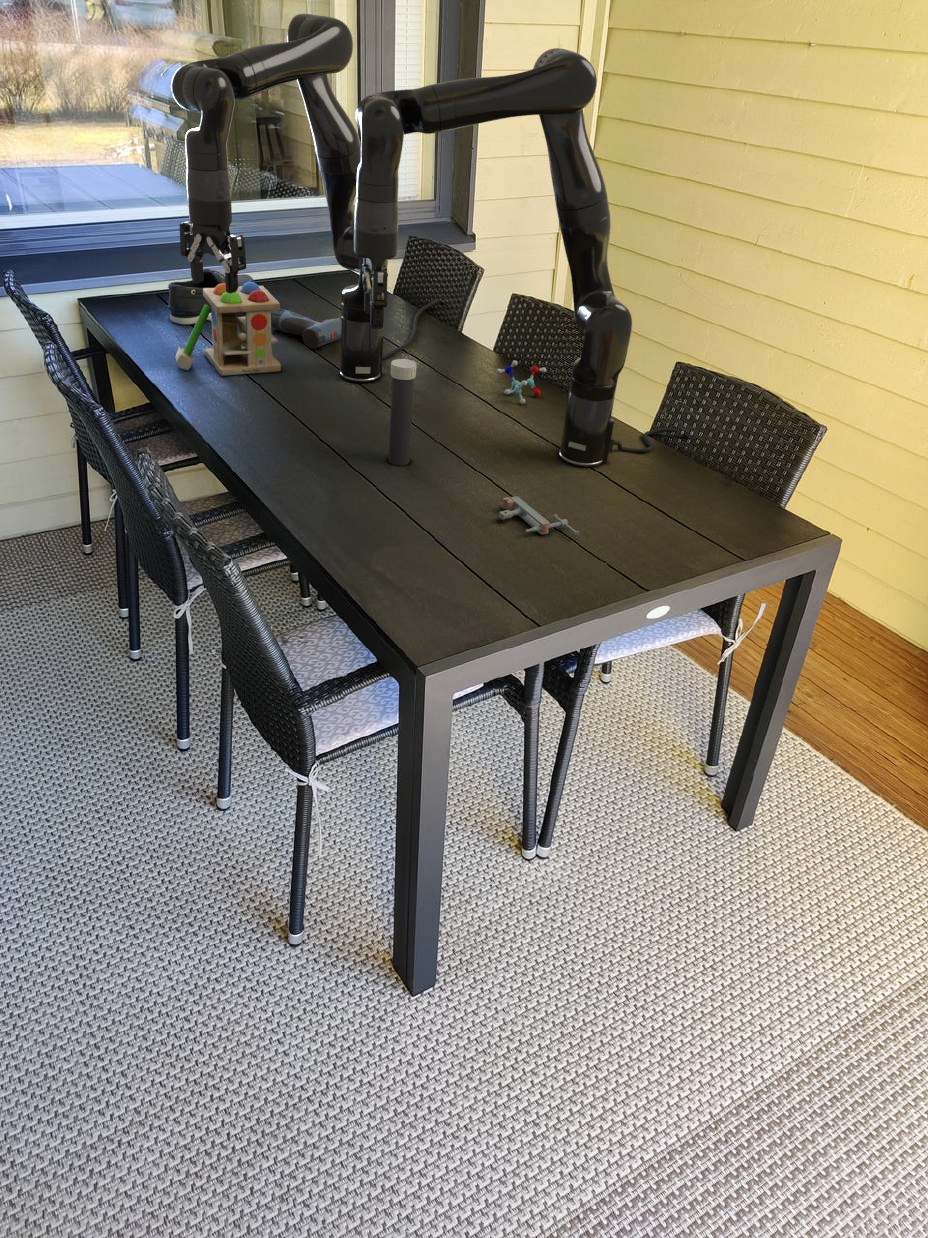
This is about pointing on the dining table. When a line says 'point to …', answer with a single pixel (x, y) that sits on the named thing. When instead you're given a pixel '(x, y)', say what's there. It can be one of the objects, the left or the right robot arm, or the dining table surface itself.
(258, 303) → the pounding bench toy
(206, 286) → the boat shoe
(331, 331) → the power drill
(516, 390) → the molecular model
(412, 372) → the lid
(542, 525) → the clamp
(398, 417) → the bottle
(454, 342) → the dining table surface
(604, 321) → the right robot arm
